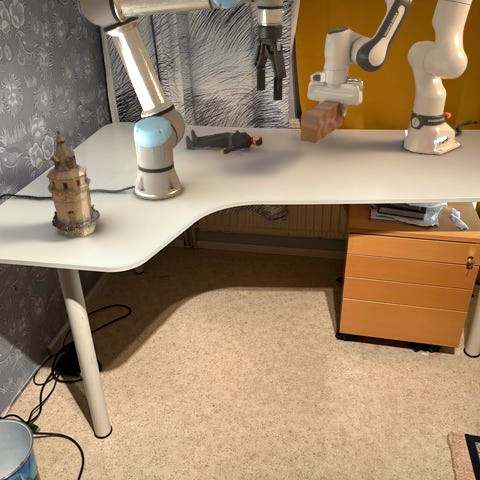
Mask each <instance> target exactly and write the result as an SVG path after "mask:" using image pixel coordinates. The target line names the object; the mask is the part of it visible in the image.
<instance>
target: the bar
mask: <svg viewBox="0 0 480 480" xmlns="http://www.w3.org/2000/svg"><path fill="white" fill-rule="evenodd" d="M344 108H345V107H344V104H340V102H332V101H324V102H322V103H320V104H319V103H318V104H316V106H314V107H311V108H310V109H309V110H307V111H305V112H304V113H302V114H301V115H300V142H305V143H306V142H307V143H312V144H317V143H319V142H320V141H321V140H323V139H324V138H326V137H327V136H328V135H330V134H331V133H333V132H334V131H335V130H337V129H338V128H340V127H341V126H343V125H344V124H345V116H340V114H341V113H340V112H341V111H342V110H344Z"/></svg>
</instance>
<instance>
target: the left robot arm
mask: <svg viewBox="0 0 480 480" xmlns="http://www.w3.org/2000/svg"><path fill="white" fill-rule="evenodd" d="M79 1H80V2H79V3H80V4H79V6H80V9H81V12H82V14H83V16H84V17H85V19H87V20H88V21H89V22H90V23H91V24H94V25H96V26H100V27H101V28H102V30H103V33H104V34H105V35H107V36H109V37H110V38H112V41H113V43H114V46H115V48H116V50H117V52H118V55H119V57H120V59H121V62H122V64H123V67H124V69H125V71H126V73H127V75H128V78H129V80H130V82H131V85H132V87H133V89H134V92H135V94H136V96H137V98H138V101H139V103H140V106H141V108H142V111H141V112H140V113H141V114H140V117H141V119H139V120H138V121H137V122H136V123H135V125H134V127H133V139H134V144H135V154H136V161H137V175H136V179H135V184H134V185H132V186H127V187H124V188H120V189H102V188H95V189H93V188H92V189H90V191H91V192H90V193H95V192H96V193H97V192H101V193H110V194H111V193H114V194H117V193H122V192H126V191H128V190H133V189H134V193H135V195H136V196H137V197H138V198H141V199H143V200H148V201H161V200H168V199H171V198H174V197H176V196H178V195H179V194H180V193H181V192H182V182H181V180H180V177H179V176H178V173H177V171H176V169H175V161H174V160H175V159H174V158H175V157H174V149H175V148H176V146H177V145H178V144H179V143H180V142H181V141H182V139H183V138H184V135H185V132H186V128H187V124H186V119H185V117H184V116H183V114H182V113H181V112H180V111H179V110H177V109H176V106H175V104H174V102H173V101H171V100H168V98H167V97H166V94H165V92H164V90H163V87H162V85H161V82H160V79H159V77H158V74H157V72H156V69H155V67H154V65H153V63H152V60H151V58H150V54H149V52H148V50H147V48H146V45H145V43H144V41H143V38H142V35H141V33H140V31H139V28H138V24H139V22H140V18H139V17H143V16H153V15H163V14H165V15H166V14H172V13H183V12H184V13H185V12H193V11H202V10H203V11H204V10H212V9H224V10H229V9H233V8H235V7H237V6H238V5H239V4H240V3H257V9H256V12H257V13H256V14H257V15H256V17H257V18H256V21H257V23H258V25H257V28H256V29H257V43H256V44H257V45H256V49H255V56H254V59H253V67H255V69H256V91H257V92H260V91H266V69H267V66H266V64H267V62H268V60H269V62H270V64H271V65H270V66H271V68H272V72H273V75H274V76H273V78H272V80H273V83H272V84H273V86H272V87H273V91H272V92H273V93H272V101H273V102H277V101H283V88H284V85H283V84H284V82H283V81H284V79H286V78H287V70H286V64H285V57H284V50H283V48H284V47H283V46H284V45H283V43H278V42H279V41H278V40H279V39H281V38H283V24H282V23H283V15H284V13H285V12H284V0H79ZM5 197H13V198H21V199H25V198H26V199H34V200H52V195H50V196H37V195H26V194H15V193H2V194H1V195H0V200H1V199H2V198H5ZM13 288H14V292H18V286H17V284H13Z"/></svg>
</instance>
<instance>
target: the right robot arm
mask: <svg viewBox="0 0 480 480" xmlns="http://www.w3.org/2000/svg"><path fill="white" fill-rule="evenodd" d="M412 2H413V0H384V3H385V5H386V13H385V15H384V17H383V19H382V21H381V23H380V25H379V27H378V28H377V30H376V32H375V34H374V35H373V36H372V37H371V38H370V37H368V36H366V35H362V34H360V33H358V32H355V31H353V30H352V29H351V28H350V27H348V26H336V27H333V28H332V29H330V30H329V31H327V33H326V36H325V42H324V64H323V70H319V71H316V72H314V73H312V74H310V77H309V79H310V81H309V83H308V87H307V95H306V96H307V99H308V100H309V101H313V102H315V101H316V102H318V105H319V104H320V103H322V102H324V101H332V102H340V104H344V107H345V108H344V110H342V111H341V112H340V113H341V114H340V116H344V117H345V116H346V114H347V110H348V109H349V108H350V106H354V107H357V106H359V105H361V104H362V103H363V90H364V82H363V81H362V80H361V79H360V78H358V77H357V78H355V77H349V74H350V73H349V71H350V65H355V66H357V67H359V68H360V69H362V70H363V71H364V72H368V73H373V72H376V71H379V70H380V69H381V68H382V67H383V66H384V65H385V64H386V62H387V61H388V56H389V53H390V49H391V46H392V44H393V42H394V40H395V38H396V36H397V35H398V32H399V31H400V29H401V28H402V25H403V23H404V21H405V20H406V18H407V16H408V13H409V11H410V8H411V4H412ZM472 2H473V0H437V3H436V6H435V9H434V12H433V16H432V20H431V25H432V28H433V29H434V33H435V34H434V35H435V39H434V41H431V40H423V41H417V42H415V43H413V45H412V46H411V47H410V48H409V50H408V52H407V62H408V64H409V66H410V67H411V70H412V74H413V81H414V100H413V107H412V108H413V109H412V110H411V112H410V118H409V120H410V122H409V124H408V128H407V129H405V138H404V139H403V145H402V146H403V148H404V149H406V150H408V151H410V152H413V153H417V154H428V155H429V154H431V155H439V156H441V155H443V154H446V153H448V152H450V151H453V150H455V149H457V148H459V147H460V146H461V144H460V143H459V142H458V141H457V140H455V138H456V137H458V136H460V135H461V134H462V133H463V131H462V129H461V127H462V126H465V125H467V124H469V123H473V122H472V119H469V120H466V121H464V122H461V123H459V125H457V128H456V129H457V131H458V132H456V131H455V130H454V129H453V127H451V126H450V124H448V123H447V122H446V119H450V118H451V117H452V114H451V113H450V112H444V110H445V104H446V99H447V90H446V88H445V86H444V84H443V81H442V79H444V80H453V79H457V78H460V77H461V76H462V75H463V74H464V72H465V70H466V69H467V67H468V56H467V54H466V52H465V50H464V30H465V25H466V22H467V20H468V19H467V18H468V15H469V13H470V12H469V11H470V9H471V5H472V4H473V3H472ZM474 123H475V124H479V122H478V120H477V121H475V122H474Z"/></svg>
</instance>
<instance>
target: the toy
mask: <svg viewBox="0 0 480 480" xmlns="http://www.w3.org/2000/svg"><path fill="white" fill-rule="evenodd" d="M233 131H234V132H229V131H225V132H220V133H219V132H218V133H214V134H208V135H201V136H198V135H197V134H196V132H195V130H194V129H191V130H190V136H189V135H188V134H187V135H186V136H185V147H186V149H187V150H191V149H194V148H198V149H199V148H200V149H204V148H211V149H215V148H216V149H217V148H220V149H221V150H219V151H220V152H219V153H220V155H221V156H224V155H228V154H230V153H232V152H235V151H239V150H241V151H247V150H248V151H249V149H250V148H251V147H252V145H253V146H255V147H260V146H262V145H263V142H264V141H263V137H262V136H261V135H253V136H251V135H250V134H249V133H248V132H247V131H242V132H241V131H239V129H234V130H233ZM190 137H191V138H190Z"/></svg>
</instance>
